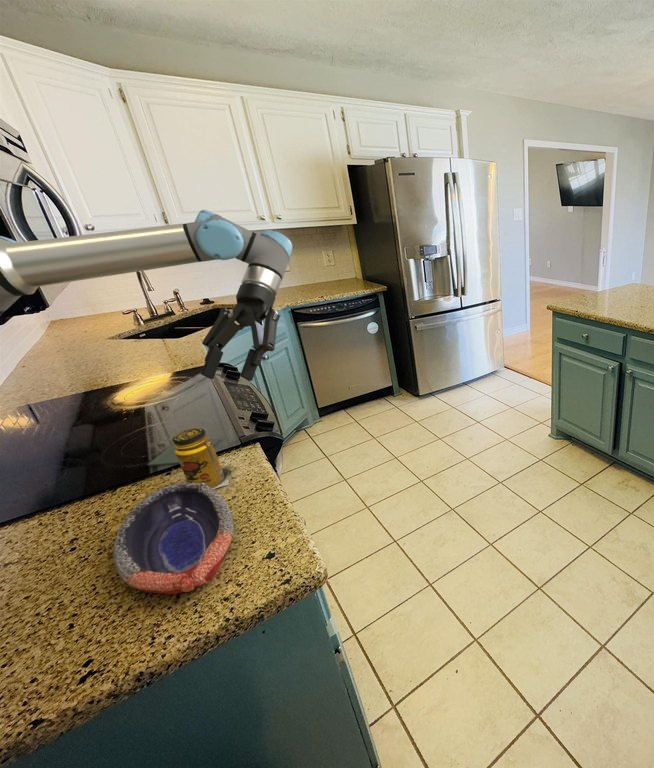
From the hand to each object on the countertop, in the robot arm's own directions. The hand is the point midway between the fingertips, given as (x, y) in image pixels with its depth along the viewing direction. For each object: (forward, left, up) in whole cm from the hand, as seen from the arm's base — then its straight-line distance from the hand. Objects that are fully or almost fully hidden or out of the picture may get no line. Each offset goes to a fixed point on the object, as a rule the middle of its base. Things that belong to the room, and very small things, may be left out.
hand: (226, 377), depth 89 cm
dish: (+11, -29, -19) cm, 36 cm away
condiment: (0, -12, -19) cm, 22 cm away
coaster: (-15, -3, -19) cm, 24 cm away
